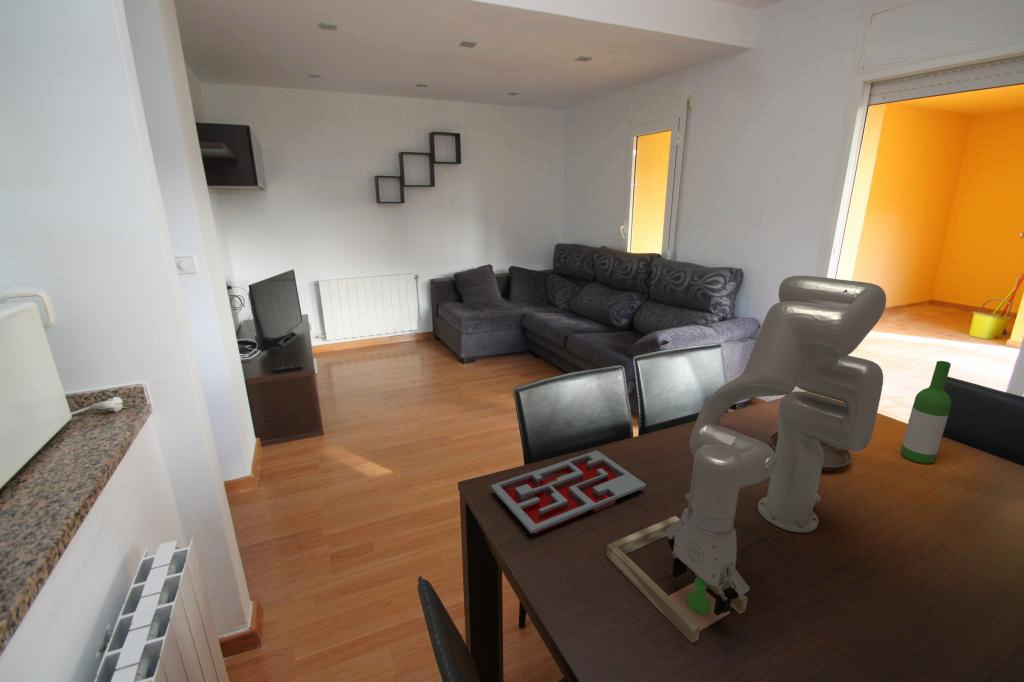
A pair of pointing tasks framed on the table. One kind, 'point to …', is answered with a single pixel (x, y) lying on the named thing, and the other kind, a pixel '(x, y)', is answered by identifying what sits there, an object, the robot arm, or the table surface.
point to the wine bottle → (928, 418)
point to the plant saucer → (825, 454)
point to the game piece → (698, 597)
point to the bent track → (668, 605)
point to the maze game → (566, 490)
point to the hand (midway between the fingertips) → (699, 591)
